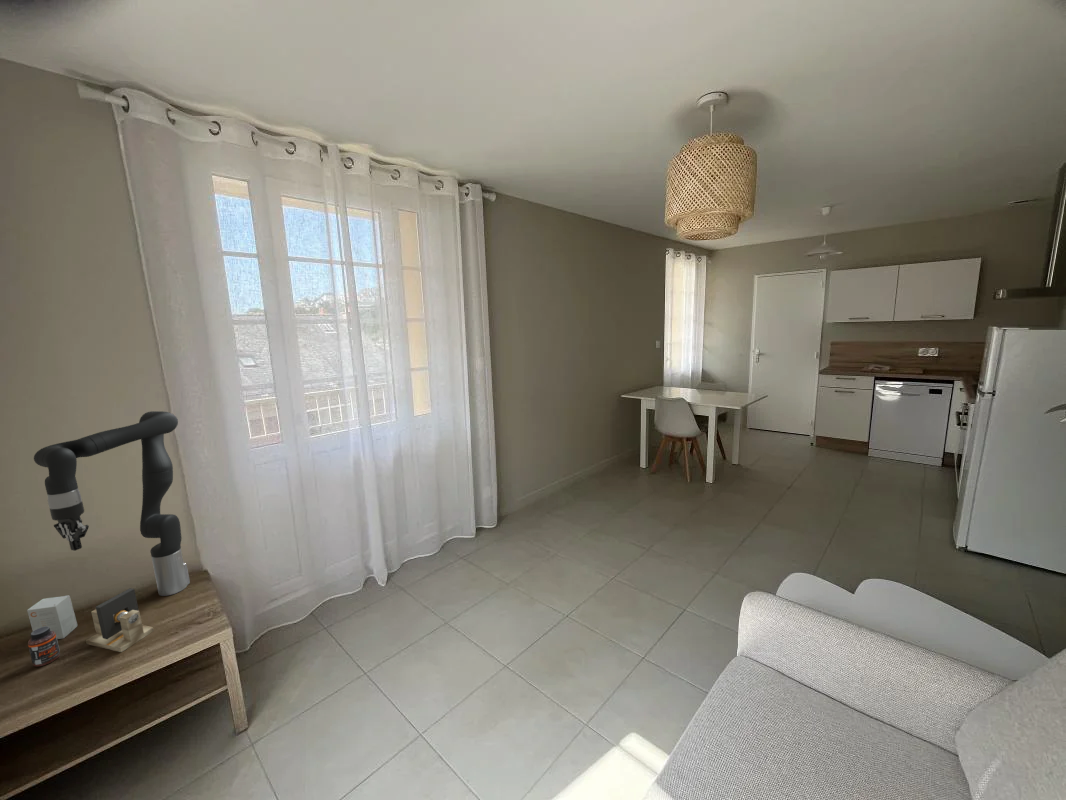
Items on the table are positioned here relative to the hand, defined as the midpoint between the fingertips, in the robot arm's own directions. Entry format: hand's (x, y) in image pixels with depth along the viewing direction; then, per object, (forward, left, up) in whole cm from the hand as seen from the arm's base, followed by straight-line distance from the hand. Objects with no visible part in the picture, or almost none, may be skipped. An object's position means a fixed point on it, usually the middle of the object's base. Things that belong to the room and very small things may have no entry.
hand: (76, 549), depth 144 cm
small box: (+5, -10, -32) cm, 34 cm away
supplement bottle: (+14, +2, -32) cm, 35 cm away
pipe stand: (+1, +14, -32) cm, 35 cm away
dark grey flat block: (+1, +16, -28) cm, 32 cm away
